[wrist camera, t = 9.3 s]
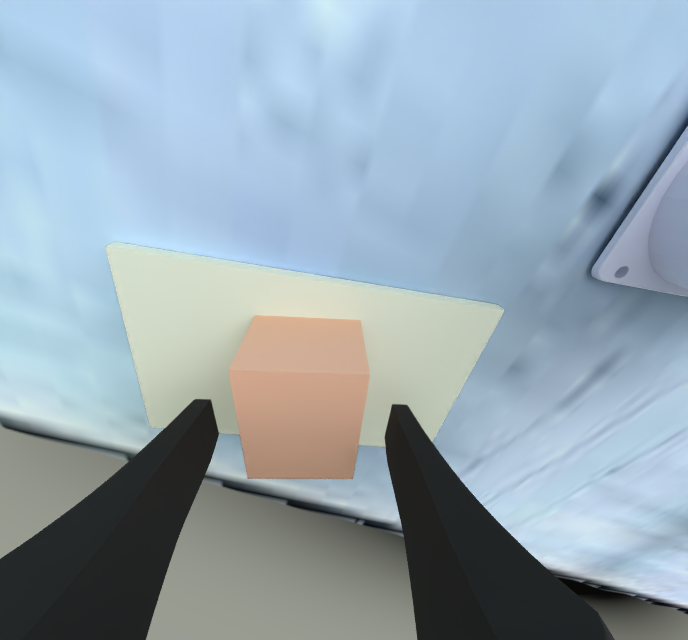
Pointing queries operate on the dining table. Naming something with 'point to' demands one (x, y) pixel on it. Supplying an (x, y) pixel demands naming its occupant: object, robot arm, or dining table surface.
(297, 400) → the light orange block
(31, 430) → the dining table surface
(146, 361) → the mat
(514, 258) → the dining table surface
